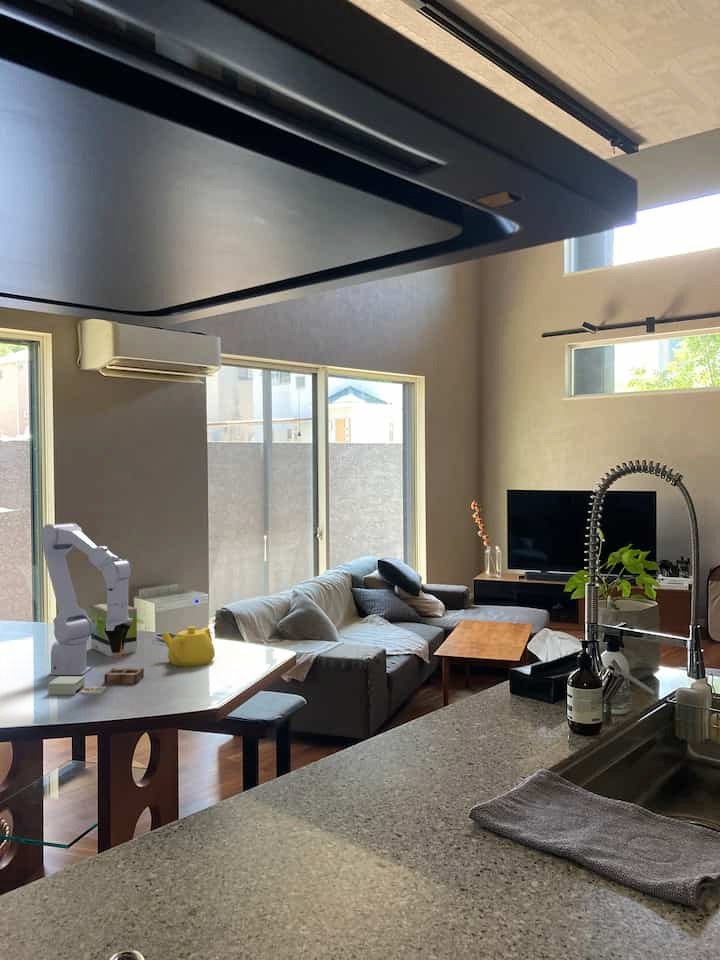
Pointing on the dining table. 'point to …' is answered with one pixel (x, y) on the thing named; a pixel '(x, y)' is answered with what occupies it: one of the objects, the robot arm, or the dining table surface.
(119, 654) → the pin
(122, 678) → the wooden compartment tray
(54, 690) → the cover
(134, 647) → the tea box
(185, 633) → the teapot
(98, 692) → the tile
